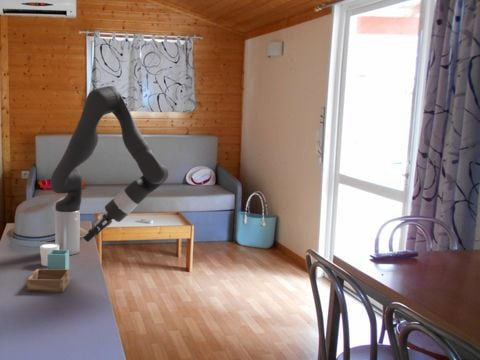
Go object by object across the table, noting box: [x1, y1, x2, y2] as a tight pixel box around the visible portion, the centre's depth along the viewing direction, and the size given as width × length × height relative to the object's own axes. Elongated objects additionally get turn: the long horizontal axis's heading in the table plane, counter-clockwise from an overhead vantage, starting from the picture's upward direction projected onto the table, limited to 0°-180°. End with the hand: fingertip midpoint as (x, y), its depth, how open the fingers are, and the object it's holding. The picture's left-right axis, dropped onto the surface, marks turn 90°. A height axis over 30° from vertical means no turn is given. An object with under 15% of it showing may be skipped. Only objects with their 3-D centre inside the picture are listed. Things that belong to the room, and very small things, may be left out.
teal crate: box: [47, 250, 70, 270], centre depth 202 cm, size 6×6×8 cm
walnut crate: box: [26, 268, 71, 294], centre depth 190 cm, size 12×11×4 cm
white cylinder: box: [39, 243, 59, 267], centre depth 213 cm, size 7×7×7 cm
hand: (87, 236), depth 201 cm, fingers open, 8 cm apart
